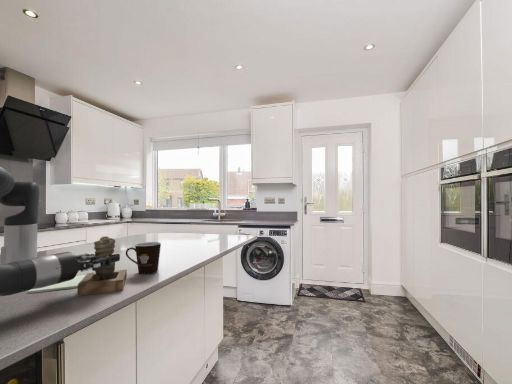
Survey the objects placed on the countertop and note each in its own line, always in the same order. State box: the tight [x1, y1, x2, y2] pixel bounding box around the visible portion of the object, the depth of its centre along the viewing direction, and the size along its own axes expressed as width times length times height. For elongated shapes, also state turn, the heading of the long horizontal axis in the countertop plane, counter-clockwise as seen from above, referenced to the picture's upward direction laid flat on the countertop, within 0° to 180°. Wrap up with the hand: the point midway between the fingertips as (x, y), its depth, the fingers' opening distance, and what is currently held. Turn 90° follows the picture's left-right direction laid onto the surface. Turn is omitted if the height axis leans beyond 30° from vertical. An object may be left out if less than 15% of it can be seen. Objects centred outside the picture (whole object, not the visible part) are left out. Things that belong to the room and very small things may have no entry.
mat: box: [27, 274, 87, 294], centre depth 80 cm, size 12×12×1 cm
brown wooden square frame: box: [77, 269, 128, 297], centre depth 78 cm, size 11×12×3 cm
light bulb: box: [93, 235, 116, 280], centre depth 78 cm, size 6×6×15 cm
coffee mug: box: [125, 241, 162, 275], centre depth 94 cm, size 12×9×10 cm
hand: (112, 256), depth 80 cm, fingers closed on light bulb, 5 cm apart
